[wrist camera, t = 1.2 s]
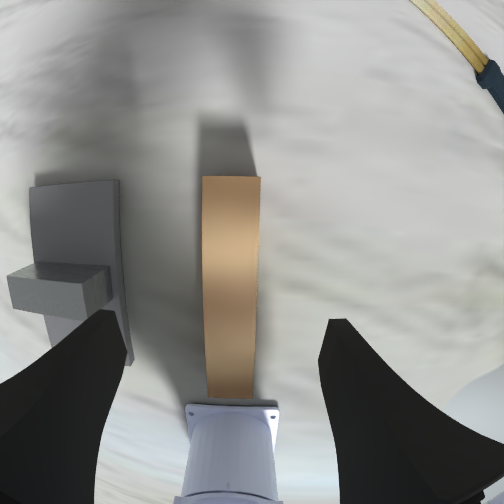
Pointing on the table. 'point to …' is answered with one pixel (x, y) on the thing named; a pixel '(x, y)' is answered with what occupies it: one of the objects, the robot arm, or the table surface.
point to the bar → (230, 282)
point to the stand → (73, 258)
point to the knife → (466, 49)
